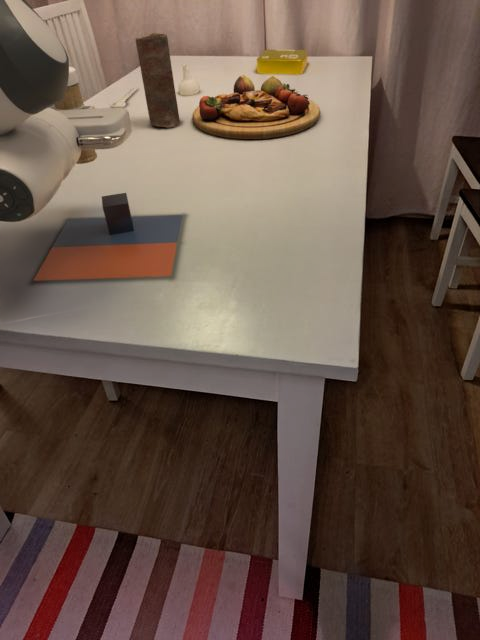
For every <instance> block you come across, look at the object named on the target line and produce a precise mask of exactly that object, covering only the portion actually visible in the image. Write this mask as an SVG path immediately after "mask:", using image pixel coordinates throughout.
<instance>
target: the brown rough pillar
mask: <svg viewBox="0 0 480 640" xmlns="http://www.w3.org/2000/svg"><path fill="white" fill-rule="evenodd" d="M135 45H136V50H137V56H138V62H139V67H140V73H141V79H142V83H143V90H144V97H145V102H146V106H147V113H148V119H149V123H150V124H151V125H152V126H154V127H155V126H156V127H159V128H160V127H161V128H162V127H163V128H177V127H178V126H180V124H181V121H180V114H179V106H178V100H177V94H176V87H175V82H174V81H175V80H174V74H173V68H172V67H173V66H172V61H171V60H172V59H171V53H170V47H169V39H168V35H167V34H166V33H158V32H152V33H150V34H149V35H146V36H142V37H140V38H138V37H136V38H135Z"/></svg>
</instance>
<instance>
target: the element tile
mask: <svg viewBox="0 0 480 640" xmlns="http://www.w3.org/2000/svg"><path fill="white" fill-rule="evenodd" d="M307 66H308V50H307V49H288V48H287V49H265V50H263V51H262V52H261V54H259V56H257V58H256V73H257V74H260V75H301V74H303V73H304V71H305V69H306V67H307Z"/></svg>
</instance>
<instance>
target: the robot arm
mask: <svg viewBox="0 0 480 640" xmlns="http://www.w3.org/2000/svg"><path fill="white" fill-rule="evenodd" d="M69 67H70V59H69V55H68V53H67V51H66V49H65V47H64V44H63V43H62V42H61V40H60V39H59V37H58V36H57V34H56V33H55V32H54V31H53V30H52V28H51V27H50V26H49V25H48V23H46V21H45V20H44V19H43V18H42V17H41V16H40V15H39V14H38V13H37V11H35V9H34V8H33V7H32V6H31V5H30V4H29V3H28V2H27V1H26V0H0V222H4V223H17V222H22V221H26V220H28V219H31V218H33V217H34V216H36V215H38V214H39V213H40V212H41V211H43V209H44V208H45V207H47V205H48V204H49V202H51V200H52V199H53V198H54V196H55V195H56V194H57V192H58V191H59V189H60V188H61V186H62V183H63V182H64V181H65V180H66V179H67V177H68V176H69V175H70V173H71V172H72V170H73V169H74V167H75V166H76V165H77V164H76V163H77V161H78V160H79V157H80V154H81V150H95V151H97V150H110V149H115V148H117V147H120V146H122V144H124V143H125V142H126V141H127V140H128V138H130V136H131V134H132V132H133V127H132V120H131V115H130V112H129V110H128V109H127V108H125V107H102V108H99V107H98V108H96V107H95V105H86V106H85V105H84V106H85V107H84V108H83V109H78V110H57V111H56V110H55V107H52V106H54V104H55V103H57V102H59V101H61V100H62V99H63V98H64V97H65V94H66V90H67V85H68V78H69Z"/></svg>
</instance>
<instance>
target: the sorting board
mask: <svg viewBox="0 0 480 640" xmlns="http://www.w3.org/2000/svg"><path fill="white" fill-rule="evenodd" d="M131 217H132V222H133V227H134V231H130V232H124V233H118V234H112V235H110V234H109V230H108V226H107V222H106V219H105V217H93V218H92V217H91V218H69V219H67V221H65V224H64V226H63V228H62V229H61V231H60V232H59V234H58V236H57V238H56V240H55V242H54V243H53V245H52V246H51V249H50V251H49V253H48V254H47V256H46V257H45V260H43V263H42V265H41V266H40V268H39V270H38V272H37V273H36V275H35V277H34V279H33V281H34V282H37V281H39V282H40V281H66V280H70V281H71V280H94V279H95V280H97V279H125V278H128V279H129V278H154V277H155V278H156V277H171V276H172V274H173V273H172V271H173V267H174V262H175V256H176V253H177V252H176V251H177V246H178V242H179V237H180V236H179V235H180V230H181V225H182V220H183V214H172V215H169V214H168V215H146V216H145V215H144V216H131Z"/></svg>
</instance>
